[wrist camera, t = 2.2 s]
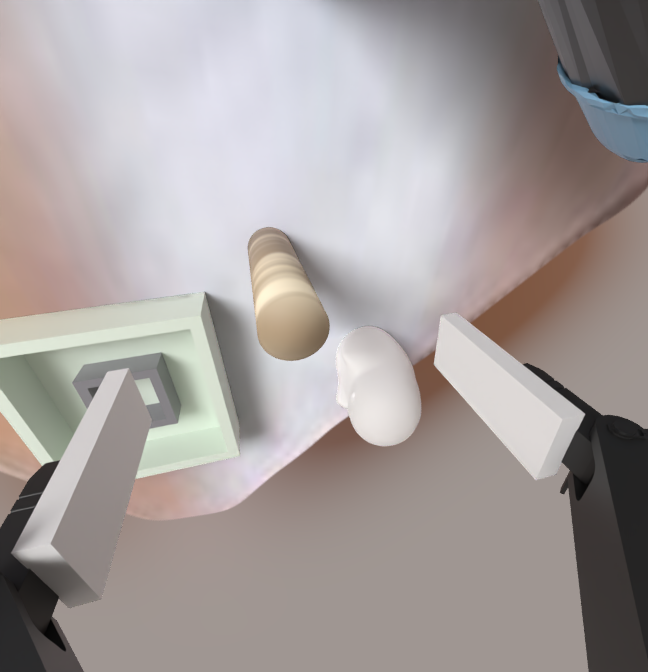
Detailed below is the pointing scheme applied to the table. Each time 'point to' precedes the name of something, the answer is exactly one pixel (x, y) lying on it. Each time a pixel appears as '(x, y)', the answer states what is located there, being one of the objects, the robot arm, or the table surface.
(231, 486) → the table surface
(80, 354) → the green square socket tray
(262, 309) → the beige wooden dowel
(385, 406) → the figurine
